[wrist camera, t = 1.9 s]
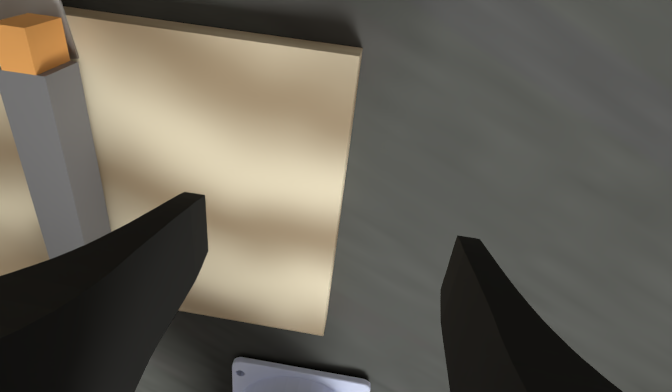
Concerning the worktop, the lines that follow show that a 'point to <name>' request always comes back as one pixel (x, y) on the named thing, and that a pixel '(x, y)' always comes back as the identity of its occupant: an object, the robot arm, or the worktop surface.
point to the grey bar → (52, 131)
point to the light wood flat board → (209, 153)
